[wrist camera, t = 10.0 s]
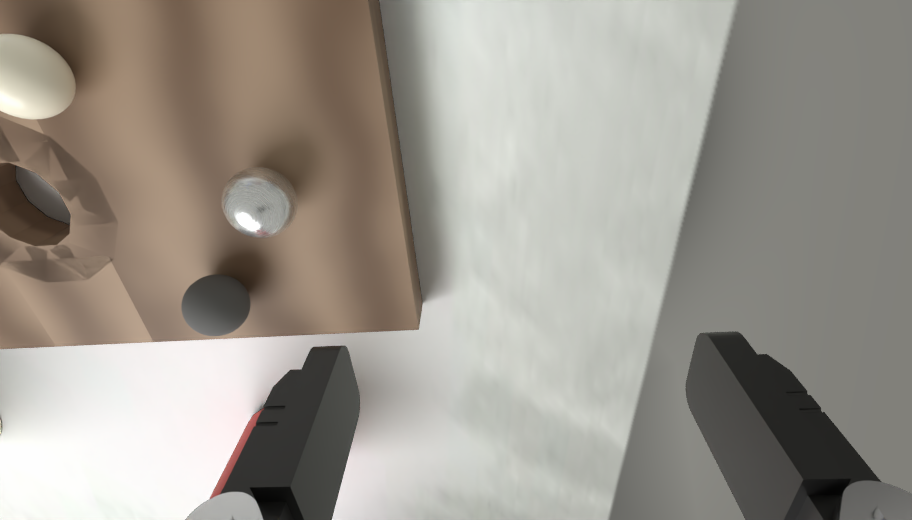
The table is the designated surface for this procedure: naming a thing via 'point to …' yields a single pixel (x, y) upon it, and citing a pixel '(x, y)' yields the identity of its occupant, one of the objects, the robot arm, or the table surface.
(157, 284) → the deck
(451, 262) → the table surface
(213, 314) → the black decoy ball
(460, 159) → the table surface
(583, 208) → the table surface
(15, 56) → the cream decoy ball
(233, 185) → the steel ball
